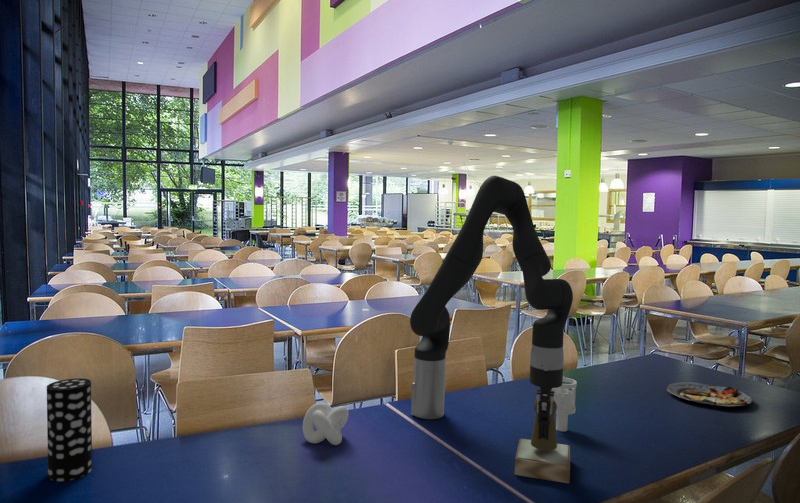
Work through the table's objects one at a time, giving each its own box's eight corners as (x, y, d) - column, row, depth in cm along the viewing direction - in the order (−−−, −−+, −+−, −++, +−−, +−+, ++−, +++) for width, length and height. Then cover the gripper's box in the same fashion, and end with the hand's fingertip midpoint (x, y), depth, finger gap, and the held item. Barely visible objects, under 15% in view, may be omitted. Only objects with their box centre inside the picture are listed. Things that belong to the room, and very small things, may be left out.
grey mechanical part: (567, 423, 153) (569, 372, 152) (579, 433, 146) (581, 380, 145) (544, 425, 152) (546, 373, 151) (555, 434, 145) (557, 380, 144)
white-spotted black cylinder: (61, 464, 122) (59, 378, 121) (98, 463, 123) (98, 378, 121) (39, 481, 114) (38, 390, 112) (80, 481, 114) (79, 389, 113)
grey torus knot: (331, 427, 147) (332, 395, 146) (360, 441, 138) (360, 407, 138) (297, 438, 139) (297, 405, 138) (324, 453, 130) (325, 418, 130)
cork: (558, 451, 122) (560, 404, 121) (531, 448, 123) (532, 402, 122) (555, 440, 128) (557, 396, 127) (530, 438, 129) (531, 393, 128)
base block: (514, 474, 122) (515, 457, 121) (519, 453, 133) (519, 437, 133) (569, 483, 118) (570, 466, 118) (569, 460, 129) (569, 444, 129)
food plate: (752, 396, 182) (752, 386, 182) (754, 417, 162) (754, 406, 162) (670, 384, 195) (671, 375, 195) (663, 403, 176) (663, 392, 176)
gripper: (532, 355, 132) (529, 422, 133) (528, 370, 118) (525, 445, 119) (563, 358, 130) (560, 427, 131) (563, 374, 116) (560, 450, 117)
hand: (543, 435), depth 125 cm, fingers closed on cork, 4 cm apart
